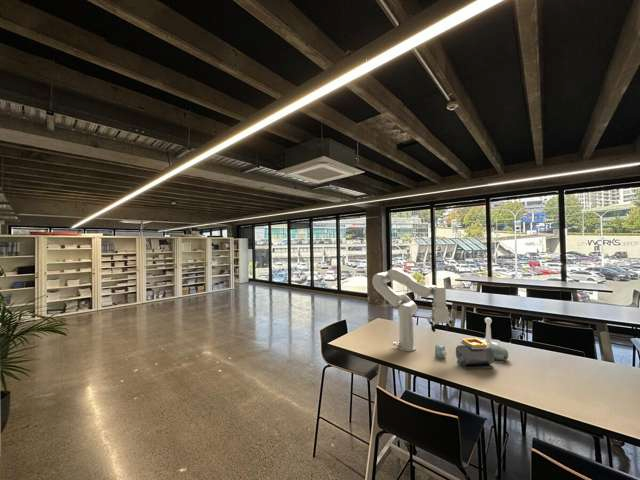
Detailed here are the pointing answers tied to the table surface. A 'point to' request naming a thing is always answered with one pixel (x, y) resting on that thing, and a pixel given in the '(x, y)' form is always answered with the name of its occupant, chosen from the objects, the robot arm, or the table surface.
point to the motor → (474, 354)
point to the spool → (499, 352)
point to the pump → (440, 351)
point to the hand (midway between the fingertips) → (440, 331)
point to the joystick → (488, 333)
